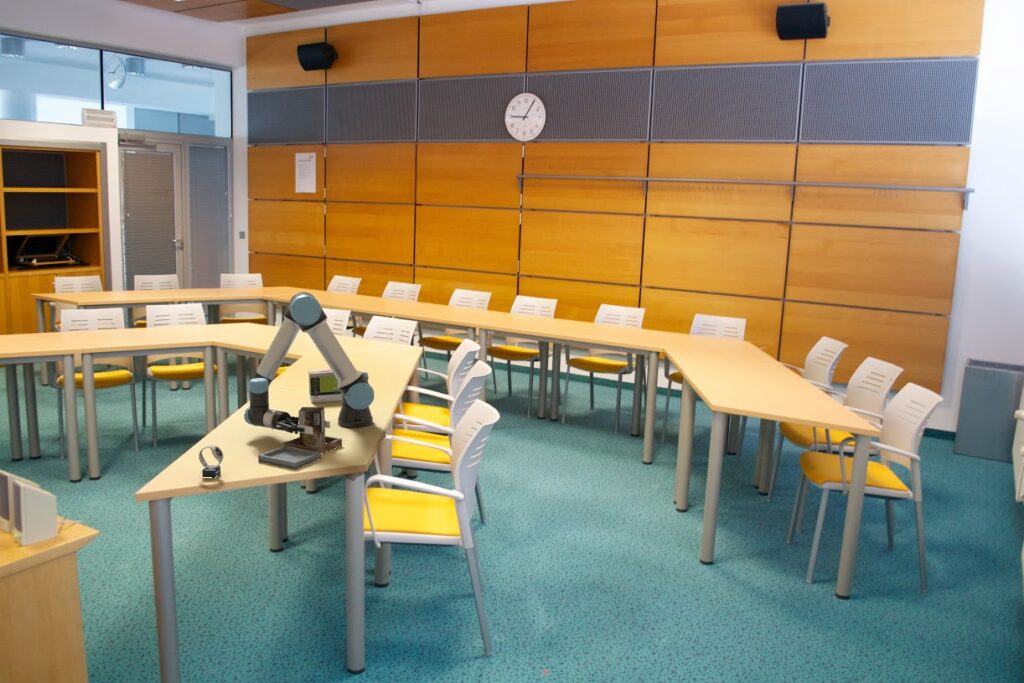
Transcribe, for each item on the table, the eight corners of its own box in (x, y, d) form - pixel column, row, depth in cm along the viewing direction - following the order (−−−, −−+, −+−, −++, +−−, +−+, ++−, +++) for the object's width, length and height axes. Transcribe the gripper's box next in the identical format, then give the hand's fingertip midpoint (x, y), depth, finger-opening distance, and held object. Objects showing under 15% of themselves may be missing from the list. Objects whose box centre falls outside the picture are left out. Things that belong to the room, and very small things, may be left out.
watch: (220, 479, 275) (219, 448, 274) (197, 478, 275) (195, 448, 274) (226, 473, 281) (225, 443, 279) (203, 473, 281) (202, 443, 279)
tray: (285, 451, 307) (284, 445, 307) (321, 459, 299) (321, 452, 299) (258, 461, 295) (258, 455, 294) (295, 469, 287) (295, 462, 286)
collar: (310, 440, 323) (310, 433, 322) (341, 446, 316) (341, 438, 315) (283, 450, 309) (282, 443, 308) (314, 456, 302) (314, 449, 301)
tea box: (339, 396, 398) (339, 368, 396) (342, 401, 389) (341, 372, 387) (309, 398, 394) (308, 369, 391) (310, 403, 384) (309, 373, 382)
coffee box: (326, 445, 316) (325, 406, 313) (322, 450, 309) (321, 410, 307) (303, 445, 315) (301, 406, 313) (299, 450, 309) (298, 410, 306)
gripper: (297, 422, 329) (339, 430, 319) (257, 435, 310) (301, 444, 300) (296, 405, 328) (339, 412, 318) (257, 417, 309) (301, 424, 298)
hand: (320, 427), depth 309 cm, fingers closed on coffee box, 9 cm apart
